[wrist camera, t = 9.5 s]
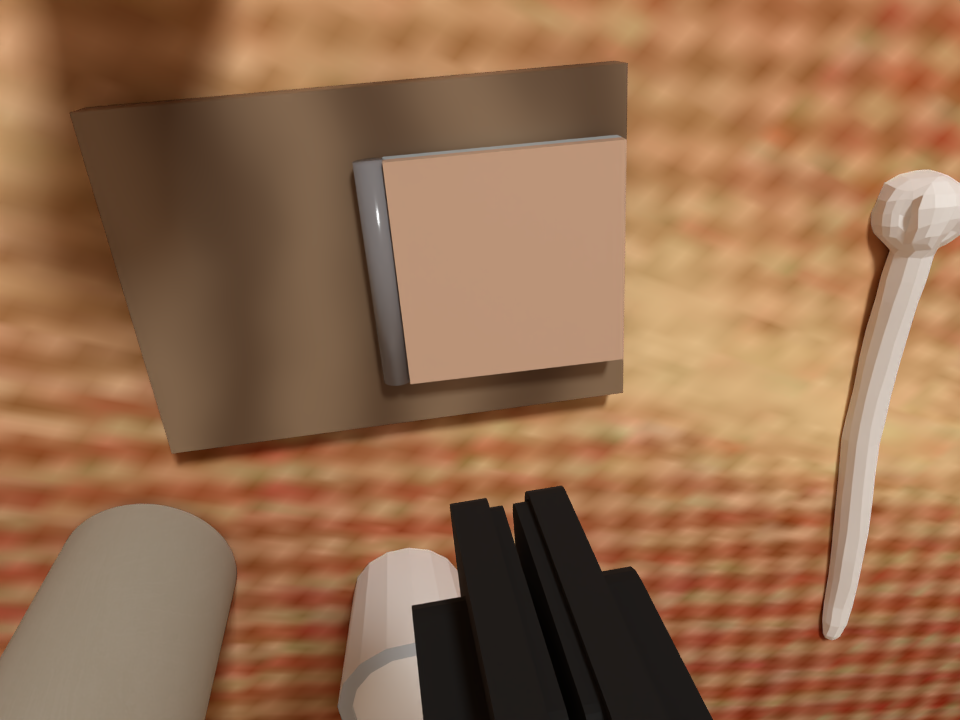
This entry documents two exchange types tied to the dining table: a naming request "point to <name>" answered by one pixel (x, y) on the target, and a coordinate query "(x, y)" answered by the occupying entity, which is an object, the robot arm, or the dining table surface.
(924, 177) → the white nail
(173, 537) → the travel mug
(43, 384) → the dining table surface
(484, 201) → the tile
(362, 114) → the board
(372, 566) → the white cup
